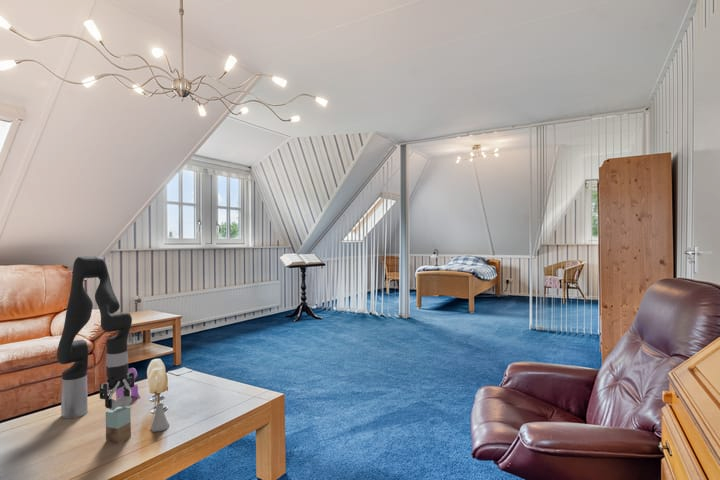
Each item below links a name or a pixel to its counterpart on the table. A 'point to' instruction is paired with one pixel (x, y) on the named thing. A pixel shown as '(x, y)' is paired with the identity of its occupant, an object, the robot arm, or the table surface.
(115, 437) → the tower bottom
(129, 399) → the mannequin head
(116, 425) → the tower top
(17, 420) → the table surface
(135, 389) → the purple figure shape
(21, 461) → the table surface
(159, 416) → the flask
